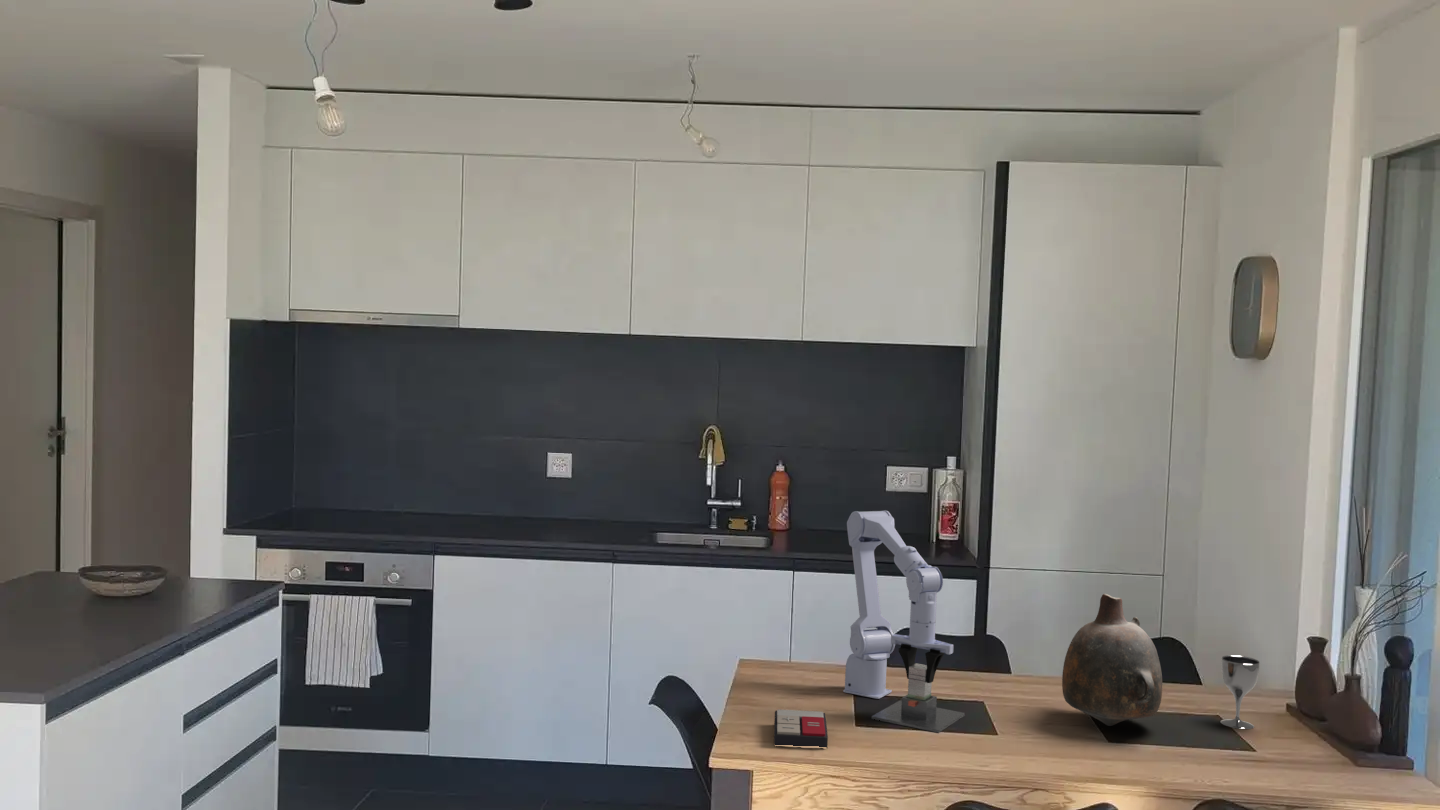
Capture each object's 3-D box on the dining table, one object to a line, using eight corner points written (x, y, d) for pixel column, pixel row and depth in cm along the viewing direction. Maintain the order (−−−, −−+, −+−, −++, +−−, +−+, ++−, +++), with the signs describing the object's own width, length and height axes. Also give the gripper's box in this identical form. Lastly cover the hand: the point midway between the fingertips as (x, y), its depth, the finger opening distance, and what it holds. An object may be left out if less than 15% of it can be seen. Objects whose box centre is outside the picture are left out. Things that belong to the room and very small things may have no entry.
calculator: (774, 731, 249) (775, 706, 264) (774, 751, 249) (774, 725, 264) (828, 734, 248) (825, 709, 263) (827, 754, 249) (824, 728, 264)
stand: (871, 718, 271) (872, 698, 270) (899, 702, 284) (900, 683, 284) (938, 732, 262) (939, 712, 262) (964, 715, 276) (965, 695, 276)
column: (907, 701, 272) (908, 666, 272) (914, 697, 276) (915, 663, 276) (924, 705, 270) (925, 669, 270) (931, 700, 274) (932, 666, 273)
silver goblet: (1256, 722, 279) (1259, 658, 278) (1255, 731, 272) (1259, 665, 271) (1219, 716, 282) (1222, 653, 282) (1217, 725, 275) (1221, 660, 274)
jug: (1181, 728, 272) (1188, 596, 271) (1141, 748, 256) (1148, 609, 255) (1080, 704, 289) (1086, 580, 287) (1036, 721, 273) (1043, 590, 272)
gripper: (959, 622, 272) (957, 682, 272) (901, 613, 280) (899, 670, 280) (947, 628, 266) (944, 688, 266) (887, 617, 274) (885, 676, 275)
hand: (920, 680), depth 273 cm, fingers closed on column, 4 cm apart
